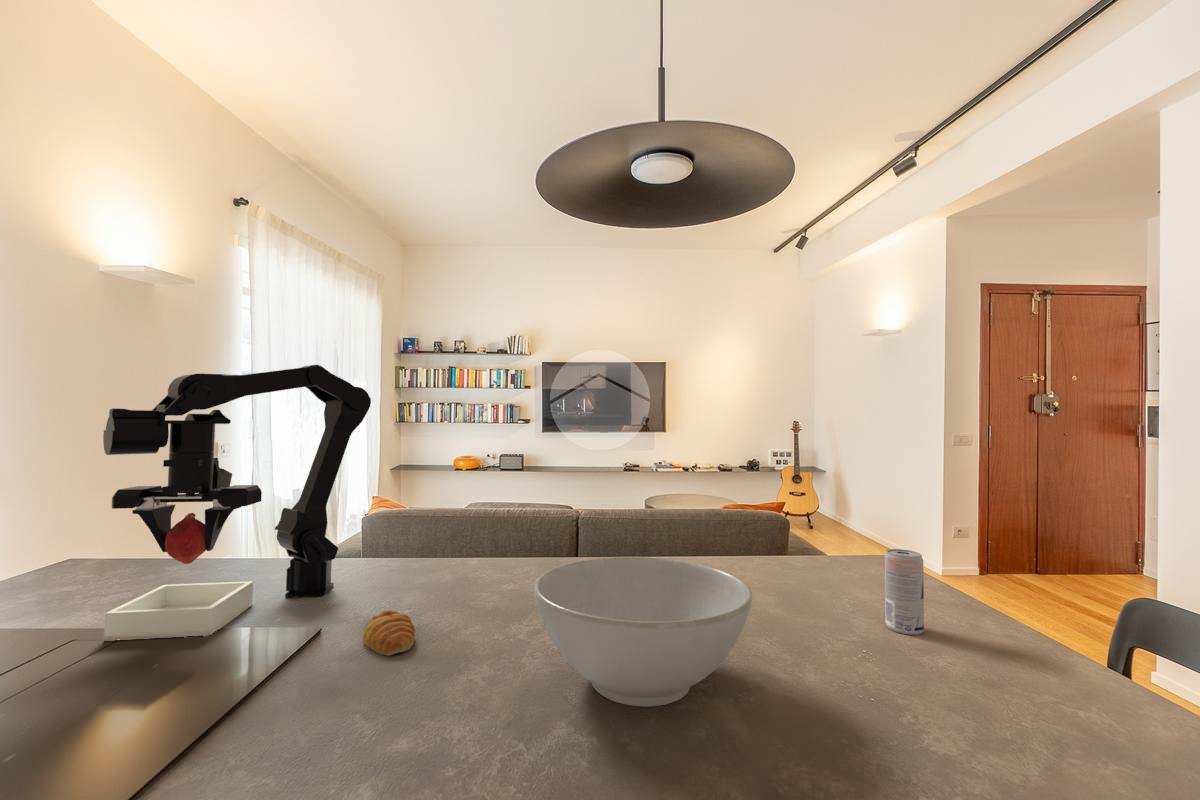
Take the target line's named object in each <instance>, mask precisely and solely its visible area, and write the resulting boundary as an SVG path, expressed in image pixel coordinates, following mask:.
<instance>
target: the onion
mask: <svg viewBox="0 0 1200 800" xmlns="http://www.w3.org/2000/svg"><path fill="white" fill-rule="evenodd" d="M165 549H166V551H167V552H166V553H167V554H168V556H169V557H170V558H172V559H173V560H176V561H178V562H179V563H181V564H184V565H189V564H192V563H193V562H194V561H195V560H197V558H199V557H200V556H201V555H202V554H204V552H207V550H206V544H205V522H202V521H201V520H199V519H197V518H196V513H195V512H189V513H188V514H186V515H185V516H184V517H183V519H181V520H180V521H178V522H177V523H176V524H175V525H173V526H172V527H171V529H170V531H169V532H168V534H167V536H166V539H165Z"/></svg>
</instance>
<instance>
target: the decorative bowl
mask: <svg viewBox="0 0 1200 800" xmlns="http://www.w3.org/2000/svg"><path fill="white" fill-rule="evenodd" d="M533 590H534V598H535V602H536V605H537V610H538V612H539V615H540V619H541V620H542V623H543V626H544V628H545V630H546V632H547V634H548V637H549V638H550V640H551V641H552V643H553V645H554V646H555V648H556V649H557V651H558V652H559V654H560V655H561V656H562V657H563V658H564V660H565V661H566V662H567V663H568V664H569V666H571V667H572V668H573V669H574V670H575V671H576V672H578V674H580V675H581V676H583V677H584V678H585V679H587V681H588V680H589V681H590V682H591V684H592V685H591V686H592V687H593V689H594V690H595V691H596V692H597V694H599V695H601V696H602V697H604V698H606V699H608V700H610V701H613V702H615V703H619V704H622V705H627V706H630V707H631V706H632V707H644V708H645V707H658V706H659V707H660V706H665V705H669V704H671V703H675V702H677V701H679V700H682V699H683V698H684V697H685V696H687V694H688V693H689V691H690V689H691V687H693V686H694V685H697V684H698V683H700V682H701V681H704V680H705V679H706V678H707V677H709V676H710V675H711V674H712V673H713V672H715V671H716V670H717V669H718V668H719V666H721V664H722V663H723V662H724V661H725V660H726V658H728V656H729V655H730V653H731V652H732V651H733V649H734V647H735V645H736V644H737V643H738V640H739V639H740V636H741V635H742V633H743V630H744V628H745V626H746V623H747V620H748V617H749V615H750V611H751V608H752V603H753V593H752V590H751V588H750V586H749V585H748V584H747V583H746V582H745V581H743V580H742V579H741V578H740V577H737V576H735V575H734V574H732V573H729V572H727V571H724V570H722V569H718V568H715V567H713V566H709V565H706V564H701V563H697V562H691V561H686V560H679V559H672V558H663V557H649V556H611V557H609V556H608V557H598V558H590V559H584V560H578V561H573V562H569V563H565V564H561V565H559V566H556V567H554V568H553V567H552V568H551V569H549V570H547V571H545V572H544V573H543V574H541V575H539V576H538V578H537V580H535V582H534V586H533Z"/></svg>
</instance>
